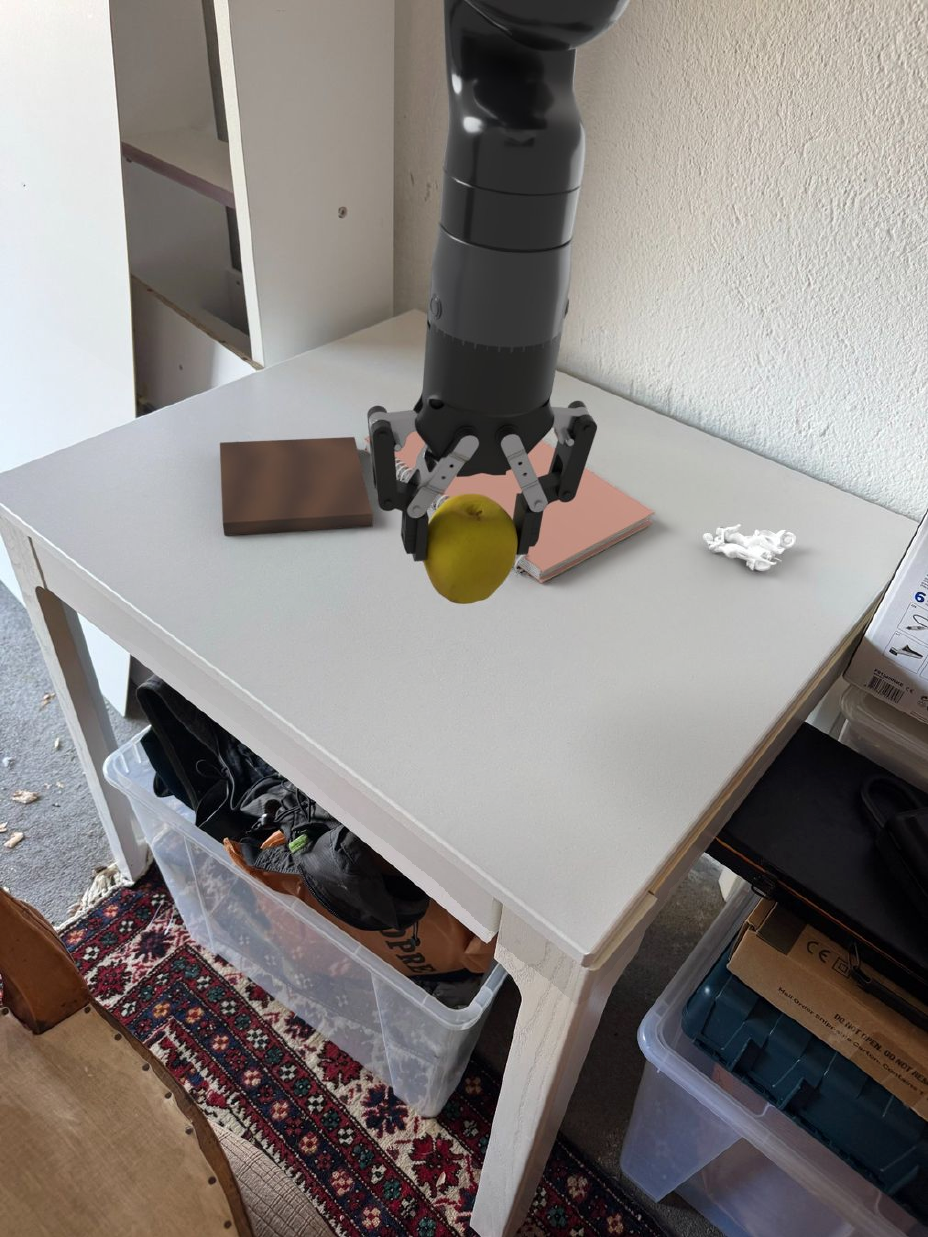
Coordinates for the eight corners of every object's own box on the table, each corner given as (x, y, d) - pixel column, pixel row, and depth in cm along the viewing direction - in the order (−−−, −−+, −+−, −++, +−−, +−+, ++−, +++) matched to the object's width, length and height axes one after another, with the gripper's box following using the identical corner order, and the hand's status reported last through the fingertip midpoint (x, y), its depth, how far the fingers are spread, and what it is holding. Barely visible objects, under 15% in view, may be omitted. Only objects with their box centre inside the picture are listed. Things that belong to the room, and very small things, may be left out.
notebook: (356, 454, 99) (356, 438, 98) (473, 410, 108) (475, 395, 106) (533, 589, 85) (535, 572, 83) (651, 525, 94) (655, 509, 92)
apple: (471, 637, 61) (484, 540, 56) (399, 592, 64) (405, 496, 58) (528, 592, 65) (545, 498, 60) (458, 552, 68) (468, 458, 62)
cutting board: (224, 535, 87) (222, 522, 86) (220, 454, 97) (219, 442, 96) (372, 526, 90) (372, 514, 89) (354, 448, 100) (354, 436, 99)
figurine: (690, 553, 91) (733, 518, 96) (760, 589, 88) (801, 551, 92) (696, 528, 89) (740, 494, 94) (768, 565, 86) (809, 527, 90)
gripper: (598, 283, 55) (555, 513, 66) (357, 282, 52) (354, 523, 63) (642, 340, 50) (586, 580, 61) (375, 342, 47) (368, 594, 58)
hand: (468, 550), depth 62 cm, fingers closed on apple, 6 cm apart
